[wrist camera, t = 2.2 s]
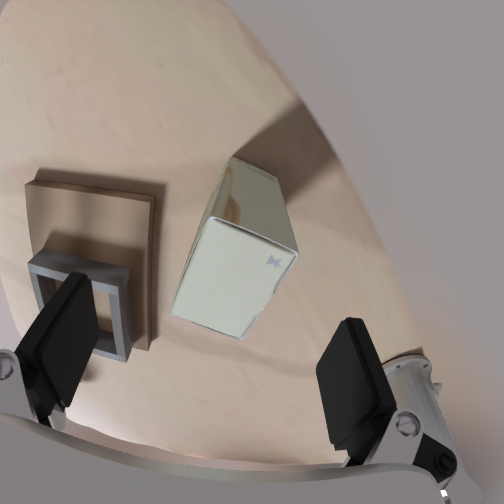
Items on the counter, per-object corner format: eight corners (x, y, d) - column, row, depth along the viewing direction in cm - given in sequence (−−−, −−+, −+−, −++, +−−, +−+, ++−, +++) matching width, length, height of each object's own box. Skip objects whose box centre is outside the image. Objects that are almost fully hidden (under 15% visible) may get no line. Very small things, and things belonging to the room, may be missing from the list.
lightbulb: (54, 365, 36) (29, 417, 26) (84, 386, 38) (63, 438, 29) (47, 376, 38) (25, 423, 28) (74, 395, 40) (55, 442, 31)
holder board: (155, 196, 24) (137, 216, 20) (151, 342, 32) (141, 370, 28) (33, 179, 22) (6, 194, 18) (54, 315, 30) (39, 338, 27)
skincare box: (230, 154, 22) (210, 205, 11) (279, 177, 23) (306, 248, 12) (199, 221, 25) (164, 316, 14) (245, 241, 26) (242, 344, 15)
